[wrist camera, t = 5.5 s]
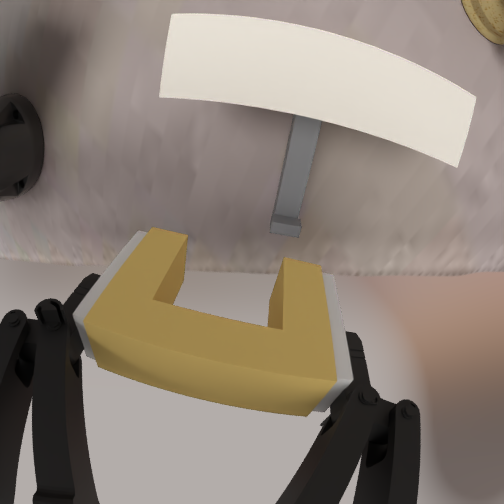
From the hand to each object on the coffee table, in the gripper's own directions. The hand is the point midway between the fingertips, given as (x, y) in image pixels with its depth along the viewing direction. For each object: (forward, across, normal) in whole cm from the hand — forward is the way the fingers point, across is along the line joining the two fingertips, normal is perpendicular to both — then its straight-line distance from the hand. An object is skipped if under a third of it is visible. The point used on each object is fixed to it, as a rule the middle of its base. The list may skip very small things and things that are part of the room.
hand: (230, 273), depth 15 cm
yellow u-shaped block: (0, 0, 0) cm, 0 cm away
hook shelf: (+16, +3, +6) cm, 18 cm away
